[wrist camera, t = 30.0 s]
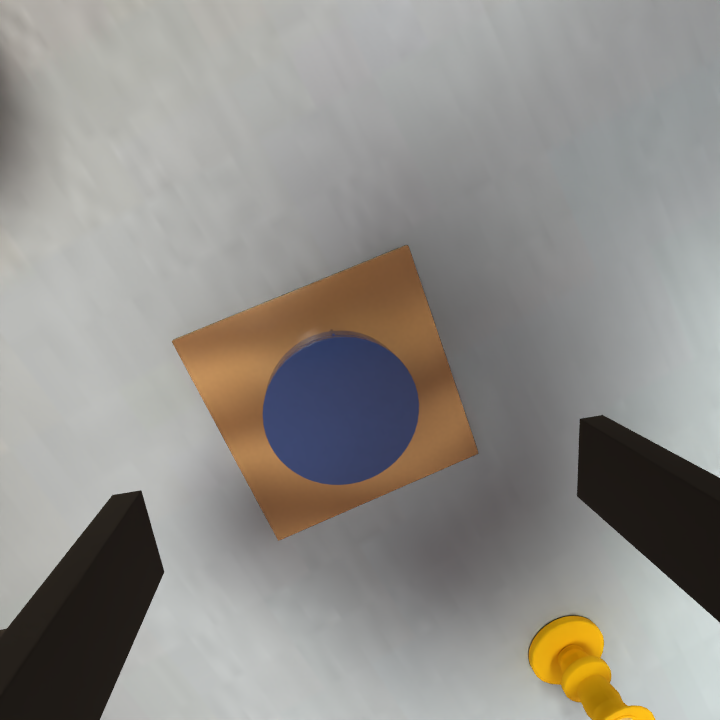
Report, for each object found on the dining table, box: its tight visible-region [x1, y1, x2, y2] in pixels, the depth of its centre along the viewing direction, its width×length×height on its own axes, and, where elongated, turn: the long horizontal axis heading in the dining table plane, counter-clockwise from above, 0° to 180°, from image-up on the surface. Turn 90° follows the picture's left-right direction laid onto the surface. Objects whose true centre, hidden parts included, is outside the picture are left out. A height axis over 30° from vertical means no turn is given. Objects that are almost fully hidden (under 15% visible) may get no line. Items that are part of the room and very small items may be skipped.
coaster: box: [172, 245, 478, 541], centre depth 21 cm, size 12×12×1 cm
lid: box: [263, 329, 419, 485], centre depth 20 cm, size 7×7×2 cm
